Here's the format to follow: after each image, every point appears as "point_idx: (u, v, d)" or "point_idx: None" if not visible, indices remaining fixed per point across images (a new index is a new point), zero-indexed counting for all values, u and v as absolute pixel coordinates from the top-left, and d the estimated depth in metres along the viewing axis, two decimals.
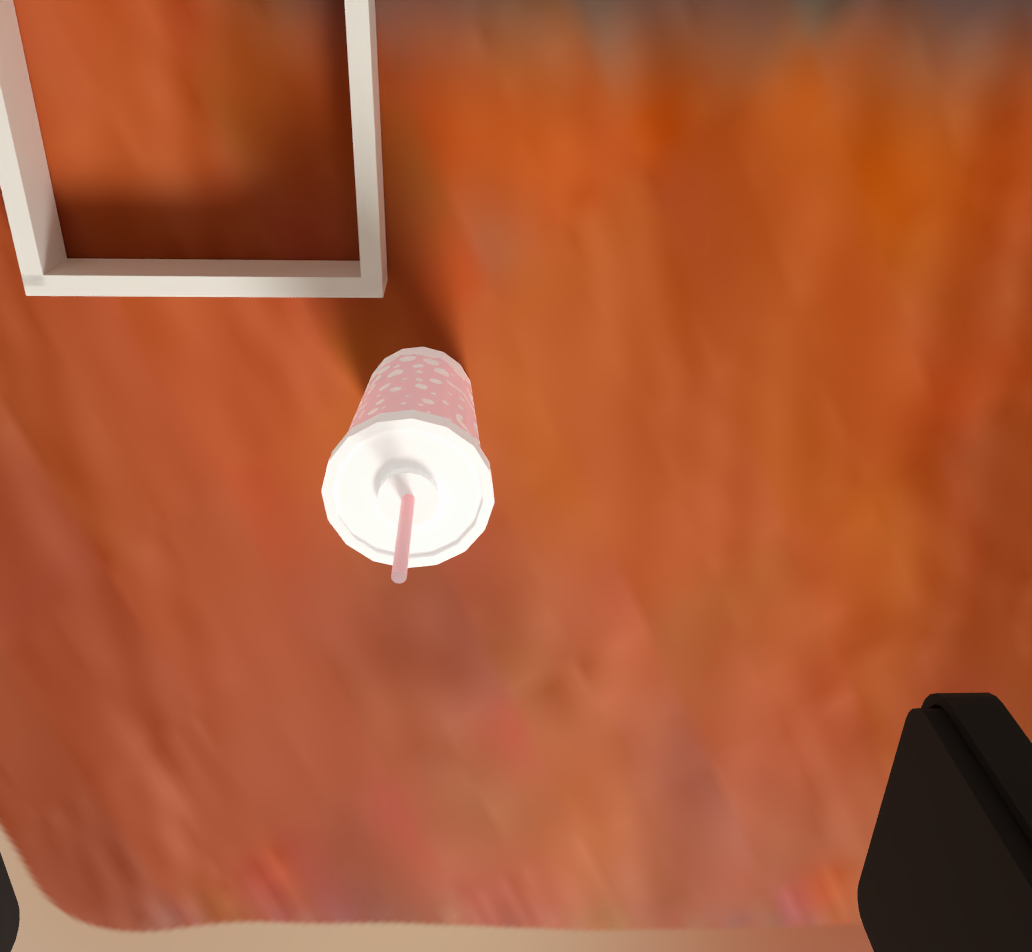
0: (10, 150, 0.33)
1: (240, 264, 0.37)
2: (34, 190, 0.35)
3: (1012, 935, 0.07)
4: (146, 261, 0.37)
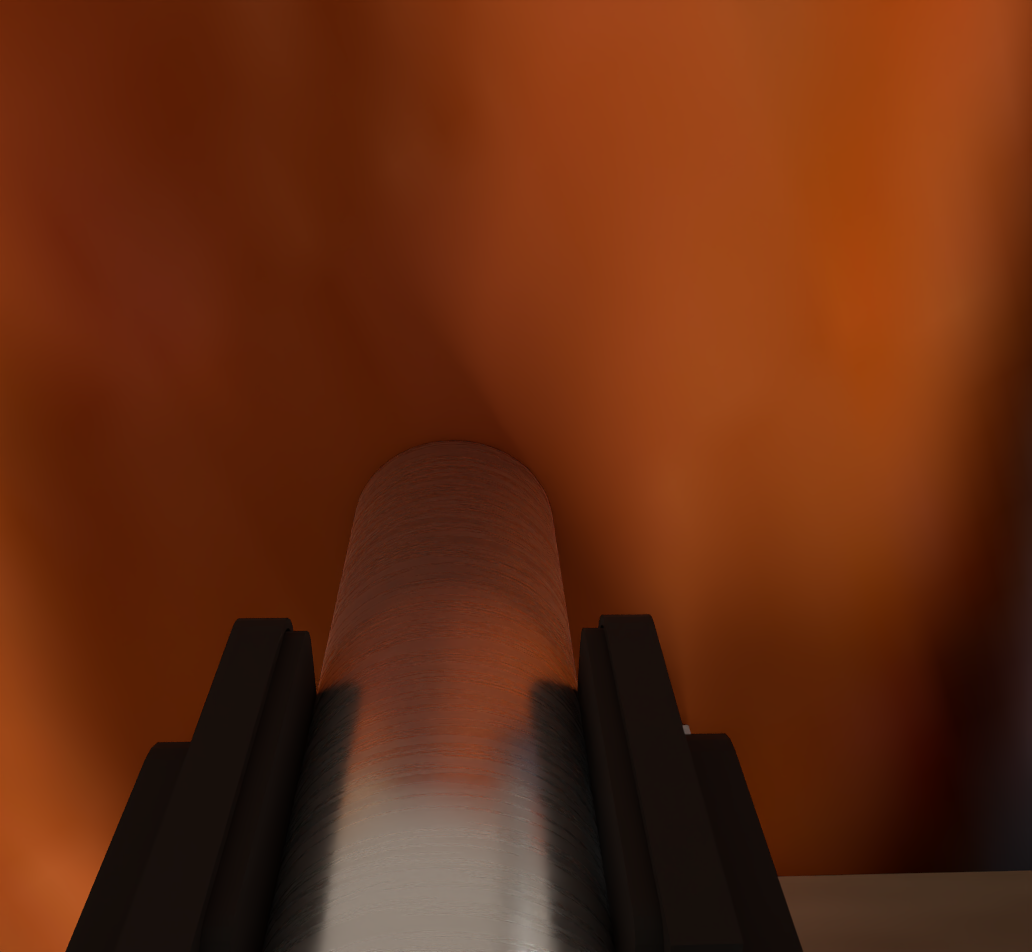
0: None
1: None
2: None
3: (603, 813, 0.08)
4: None
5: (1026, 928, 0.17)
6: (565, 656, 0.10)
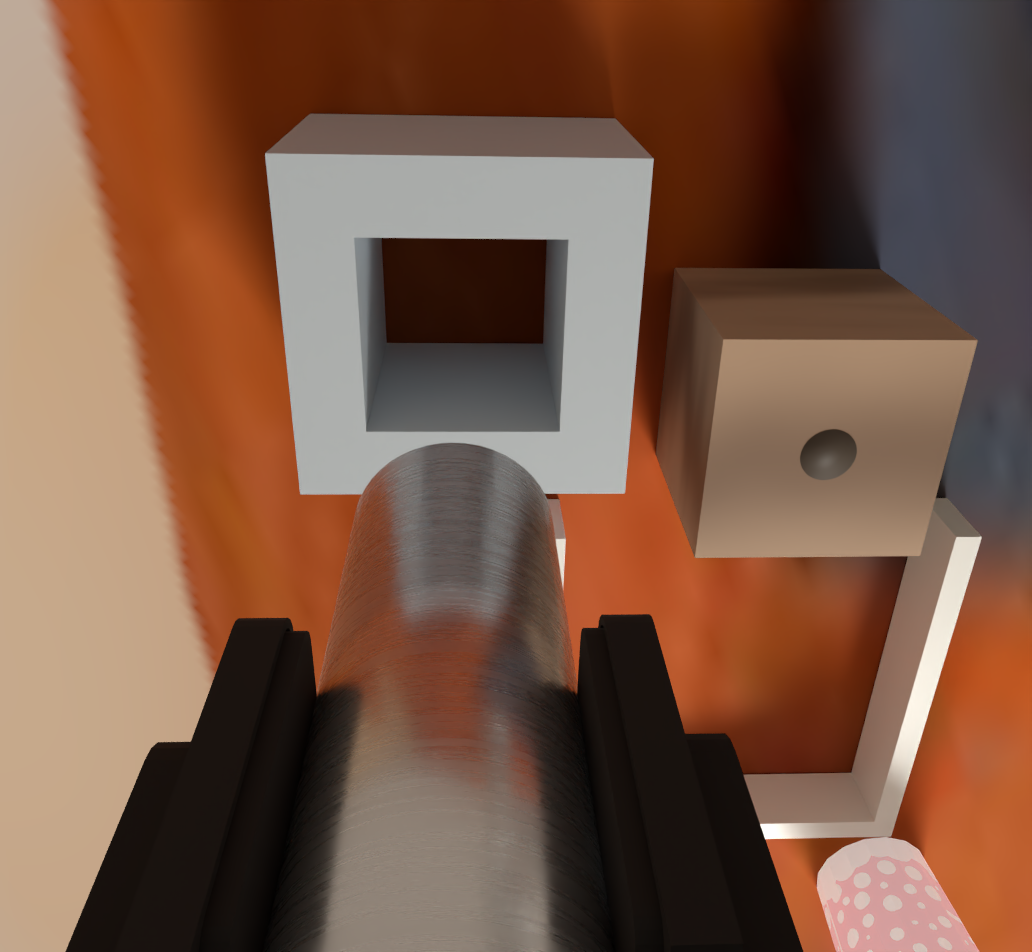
0: None
1: None
2: None
3: (603, 813, 0.08)
4: None
5: (845, 281, 0.26)
6: (565, 659, 0.10)
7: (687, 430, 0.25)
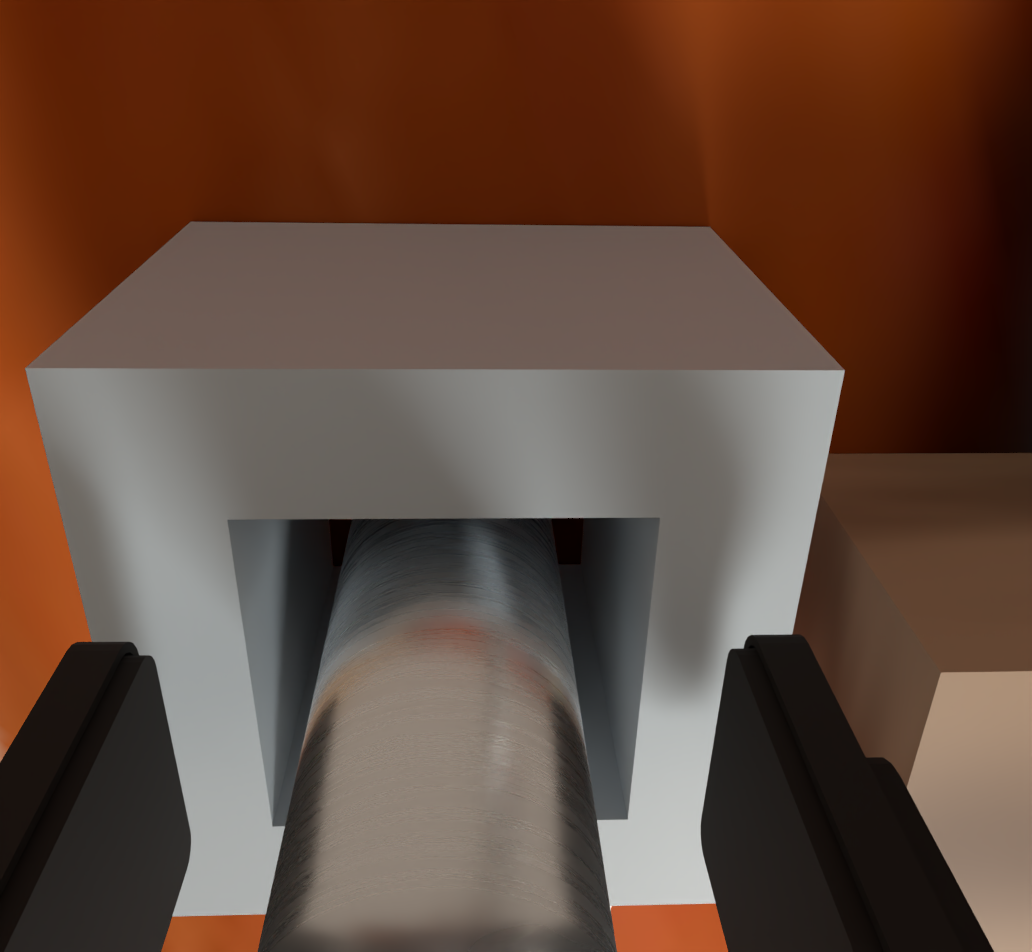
0: None
1: None
2: None
3: (784, 843, 0.08)
4: None
5: None
6: (547, 536, 0.13)
7: None
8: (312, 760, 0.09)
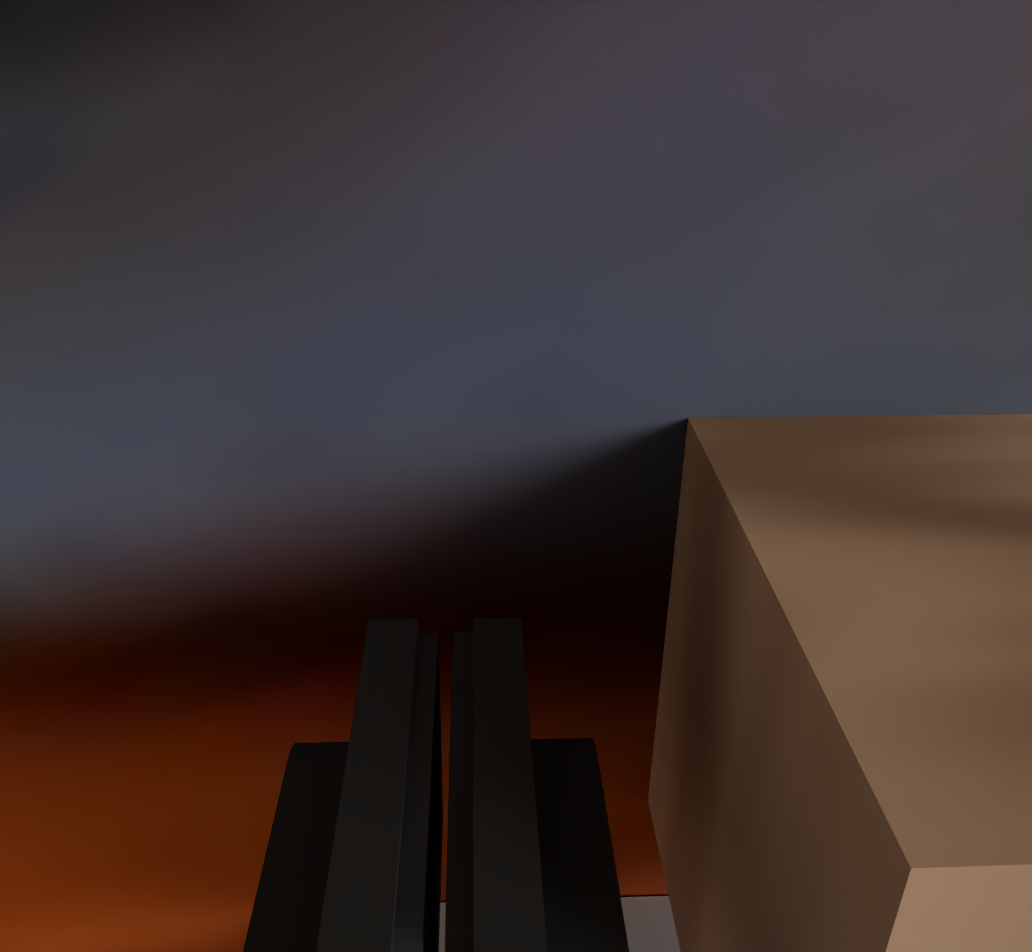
0: None
1: None
2: None
3: None
4: None
5: (700, 595, 0.10)
6: None
7: None
8: None
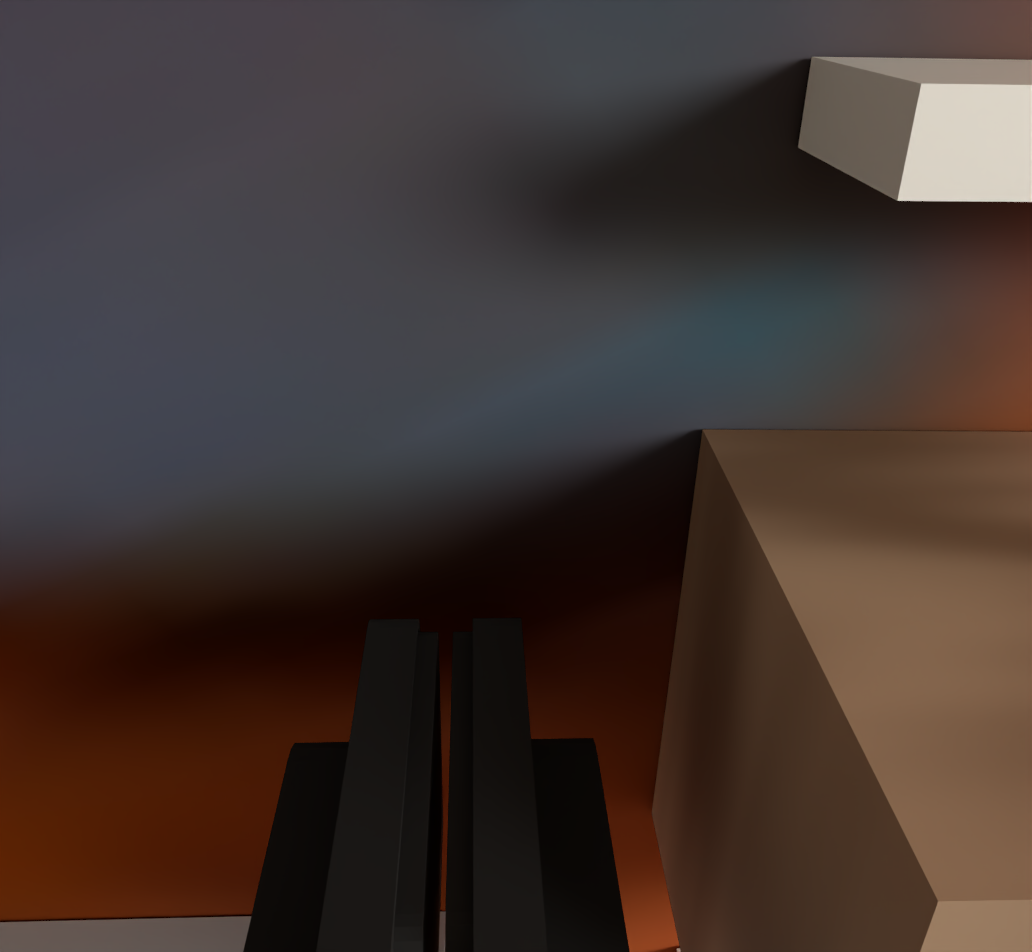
0: None
1: None
2: None
3: None
4: None
5: (712, 609, 0.10)
6: None
7: None
8: None
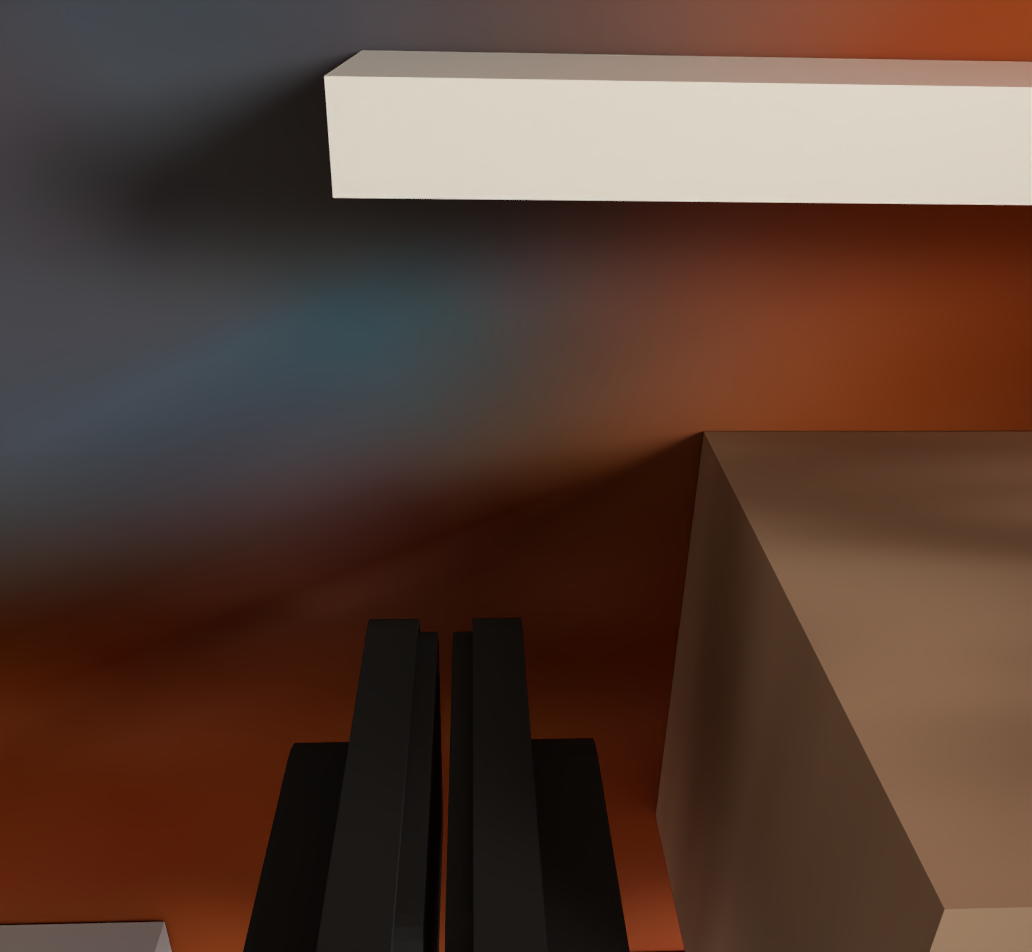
0: None
1: None
2: None
3: None
4: None
5: (715, 612, 0.10)
6: None
7: None
8: None
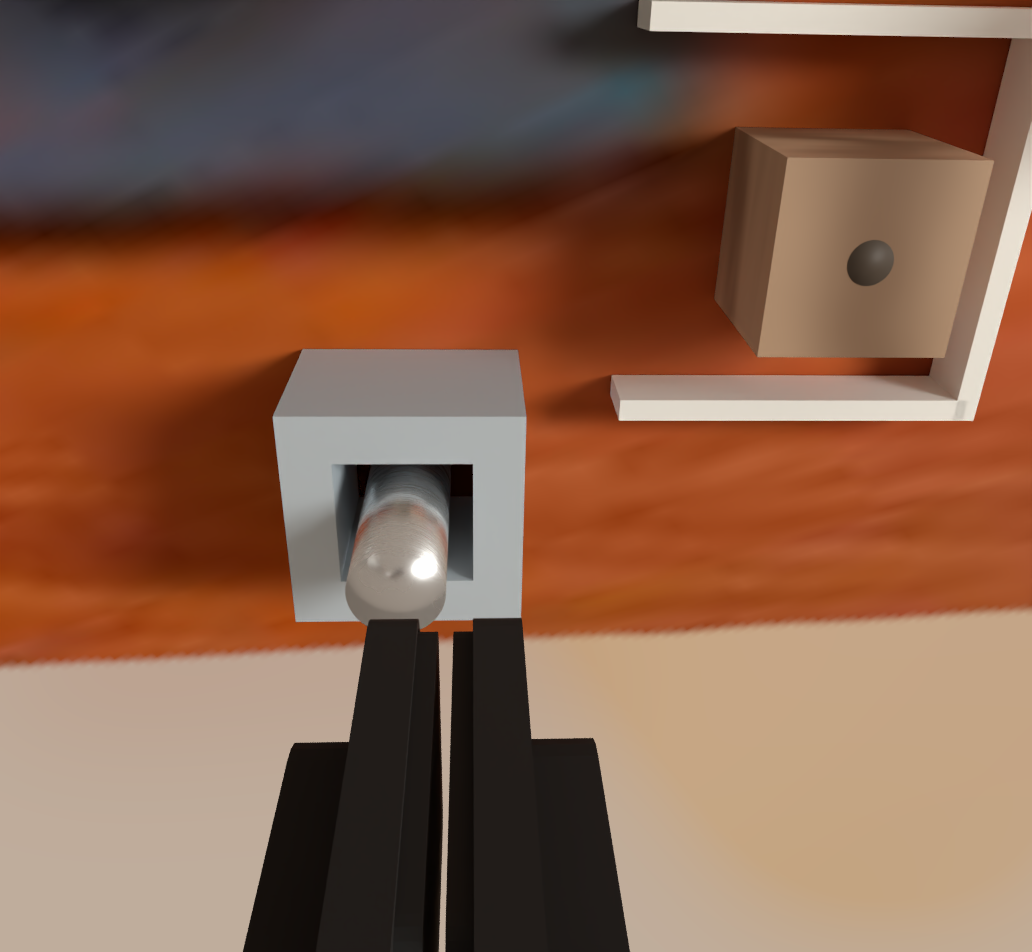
0: (834, 404, 0.34)
1: None
2: (869, 391, 0.35)
3: None
4: None
5: (739, 179, 0.31)
6: None
7: None
8: None
